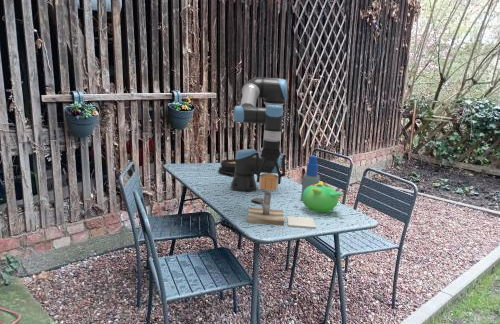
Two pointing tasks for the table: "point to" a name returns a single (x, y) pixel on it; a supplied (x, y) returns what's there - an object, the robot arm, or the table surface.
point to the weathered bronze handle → (258, 200)
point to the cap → (268, 181)
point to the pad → (301, 222)
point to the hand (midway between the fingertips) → (267, 189)
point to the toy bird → (320, 197)
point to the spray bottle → (310, 174)
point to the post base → (265, 218)
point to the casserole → (228, 167)
